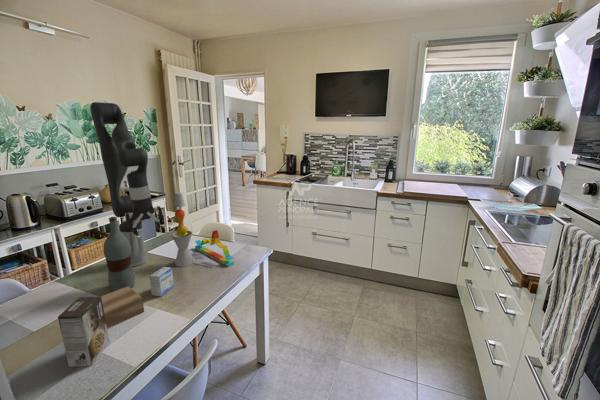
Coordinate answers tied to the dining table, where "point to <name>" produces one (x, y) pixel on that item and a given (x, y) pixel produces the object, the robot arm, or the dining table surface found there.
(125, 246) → the bottle
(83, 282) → the dining table surface
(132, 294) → the walnut block
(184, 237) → the lava lamp
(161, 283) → the medicine box
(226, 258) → the rainbow clothes hanger
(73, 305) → the coffee box
